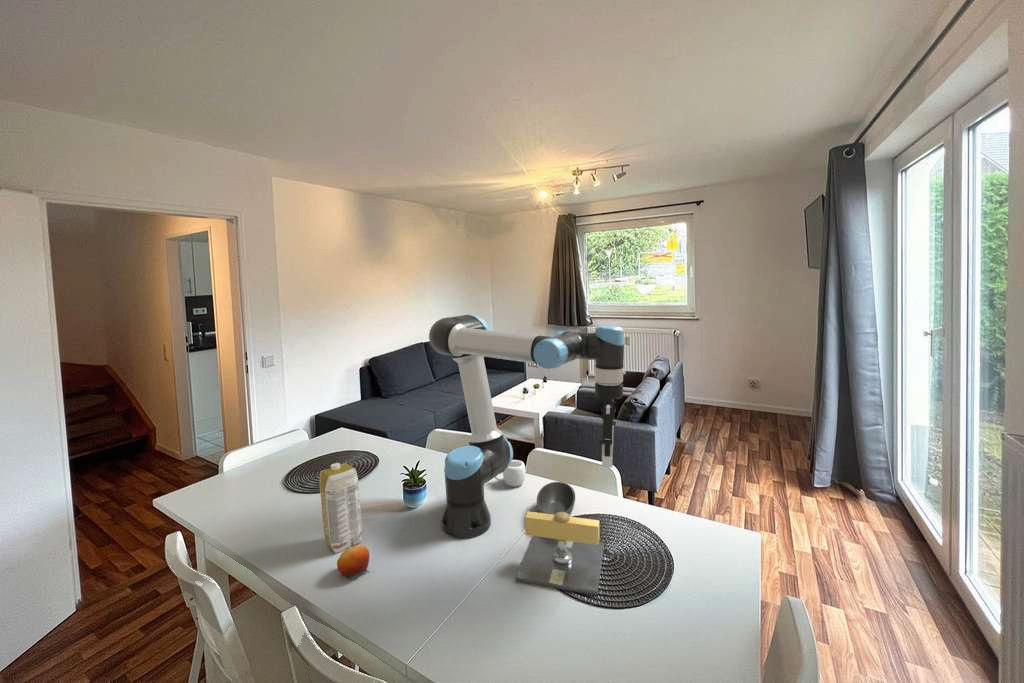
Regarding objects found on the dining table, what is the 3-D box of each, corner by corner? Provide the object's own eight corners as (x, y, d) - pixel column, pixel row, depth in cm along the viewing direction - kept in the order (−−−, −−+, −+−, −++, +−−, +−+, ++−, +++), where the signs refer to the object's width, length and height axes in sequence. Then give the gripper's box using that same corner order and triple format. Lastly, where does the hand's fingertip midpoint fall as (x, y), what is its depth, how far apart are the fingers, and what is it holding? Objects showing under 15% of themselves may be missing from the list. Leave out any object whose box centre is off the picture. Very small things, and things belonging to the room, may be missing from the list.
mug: (527, 479, 164) (526, 459, 163) (524, 489, 156) (523, 468, 155) (496, 477, 166) (495, 458, 165) (491, 487, 158) (490, 467, 157)
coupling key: (525, 535, 114) (524, 515, 113) (529, 527, 118) (528, 507, 117) (598, 546, 109) (598, 524, 108) (599, 537, 113) (599, 516, 112)
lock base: (515, 581, 108) (515, 554, 107) (534, 536, 127) (534, 513, 126) (597, 595, 102) (597, 567, 101) (604, 546, 121) (604, 522, 120)
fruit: (356, 583, 106) (343, 553, 108) (340, 589, 110) (327, 559, 112) (381, 565, 113) (369, 536, 114) (365, 571, 117) (353, 543, 119)
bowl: (576, 500, 147) (576, 482, 147) (573, 537, 126) (573, 517, 125) (541, 497, 150) (541, 480, 149) (532, 533, 128) (532, 514, 128)
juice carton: (353, 531, 132) (347, 456, 129) (365, 542, 126) (359, 464, 123) (322, 545, 125) (315, 466, 122) (333, 557, 120) (326, 474, 116)
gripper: (623, 394, 105) (621, 477, 108) (622, 373, 129) (621, 441, 132) (592, 393, 107) (591, 474, 110) (597, 372, 131) (596, 439, 134)
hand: (607, 456), depth 121 cm, fingers open, 13 cm apart
